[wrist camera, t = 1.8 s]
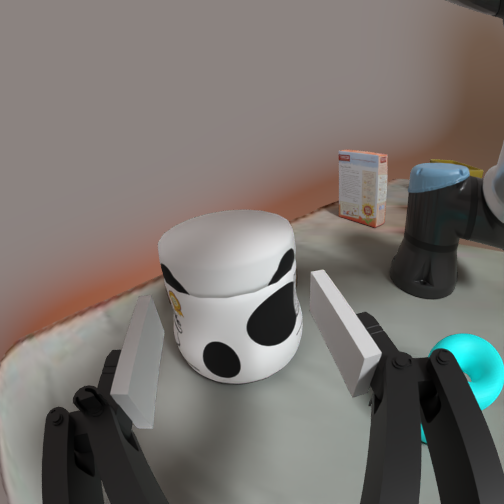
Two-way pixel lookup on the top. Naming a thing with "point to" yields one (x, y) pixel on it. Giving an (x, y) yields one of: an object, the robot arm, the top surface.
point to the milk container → (233, 293)
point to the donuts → (476, 366)
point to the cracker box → (362, 186)
